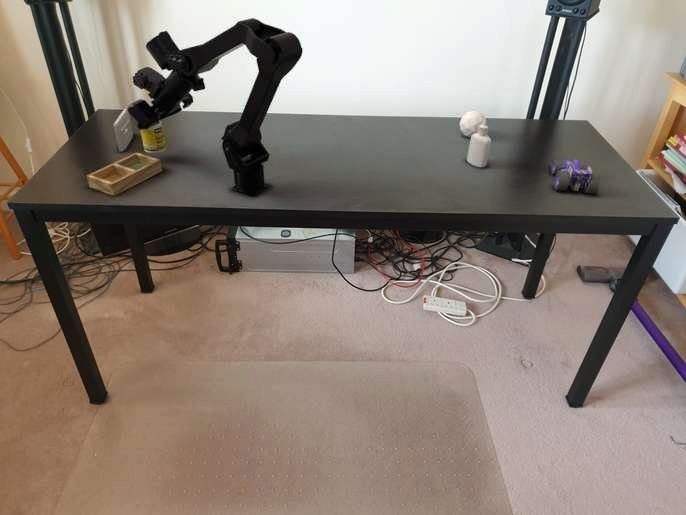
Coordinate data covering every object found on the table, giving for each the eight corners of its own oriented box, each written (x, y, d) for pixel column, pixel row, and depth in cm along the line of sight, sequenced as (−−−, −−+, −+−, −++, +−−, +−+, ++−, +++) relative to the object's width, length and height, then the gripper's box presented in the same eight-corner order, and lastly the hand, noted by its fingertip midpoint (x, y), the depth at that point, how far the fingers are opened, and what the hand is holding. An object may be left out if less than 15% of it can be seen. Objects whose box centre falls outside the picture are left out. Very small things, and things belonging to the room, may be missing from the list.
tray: (162, 170, 132) (160, 159, 130) (114, 196, 121) (111, 184, 119) (138, 163, 135) (136, 152, 133) (89, 187, 124) (86, 175, 122)
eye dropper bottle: (480, 159, 146) (489, 117, 139) (487, 168, 141) (496, 125, 134) (465, 159, 145) (473, 117, 138) (471, 168, 141) (480, 125, 134)
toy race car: (581, 170, 142) (589, 148, 138) (595, 197, 130) (604, 173, 126) (545, 167, 143) (552, 144, 139) (556, 193, 131) (563, 169, 127)
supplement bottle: (160, 155, 133) (153, 117, 128) (140, 152, 134) (132, 115, 128) (170, 146, 138) (163, 110, 132) (151, 144, 138) (143, 107, 133)
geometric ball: (462, 144, 160) (450, 120, 159) (483, 132, 162) (472, 108, 160) (473, 141, 153) (461, 116, 152) (495, 128, 154) (484, 103, 153)
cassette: (124, 152, 140) (118, 124, 136) (117, 152, 140) (111, 124, 135) (135, 134, 150) (129, 108, 145) (128, 134, 150) (122, 108, 145)
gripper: (176, 48, 129) (146, 87, 138) (125, 68, 114) (96, 110, 123) (207, 85, 131) (176, 121, 140) (162, 109, 117) (131, 147, 126)
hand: (146, 124), depth 132 cm, fingers closed on supplement bottle, 5 cm apart
